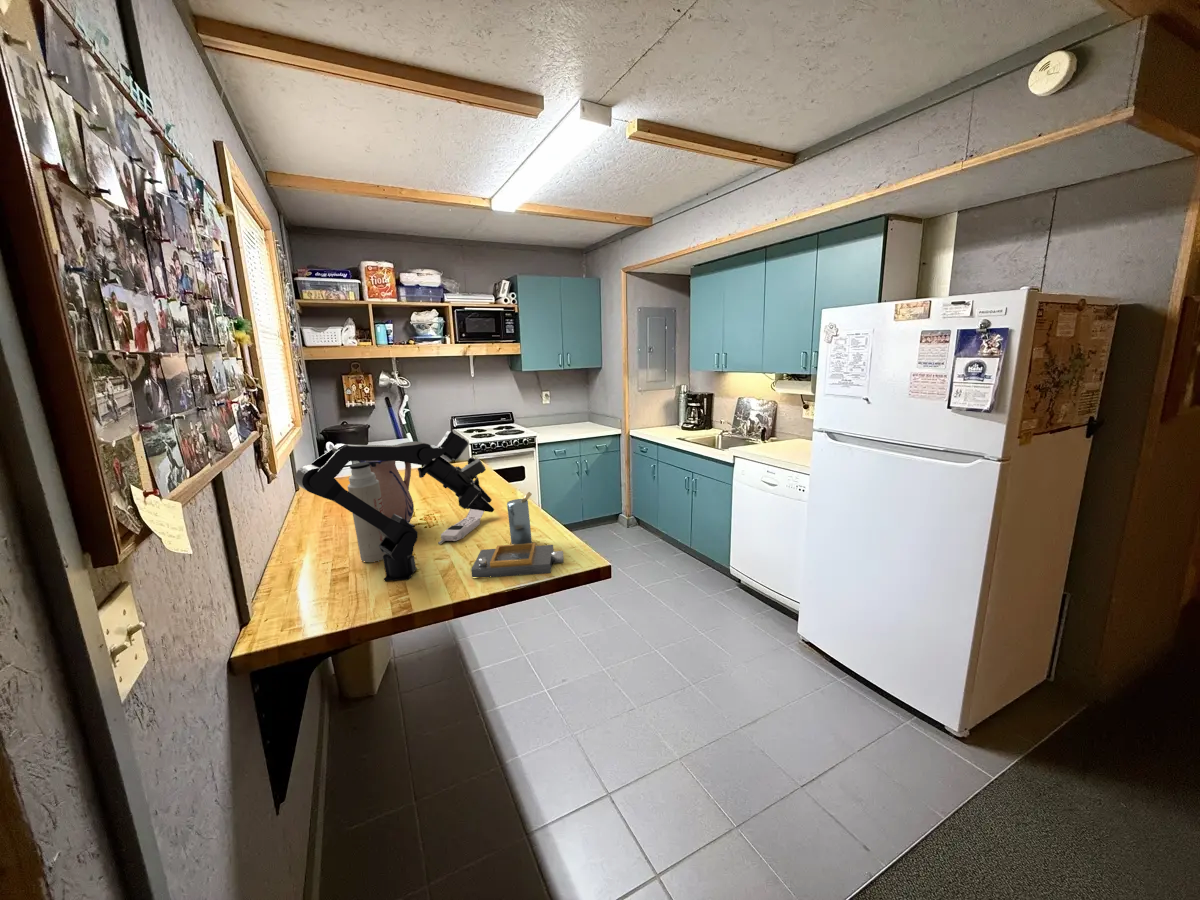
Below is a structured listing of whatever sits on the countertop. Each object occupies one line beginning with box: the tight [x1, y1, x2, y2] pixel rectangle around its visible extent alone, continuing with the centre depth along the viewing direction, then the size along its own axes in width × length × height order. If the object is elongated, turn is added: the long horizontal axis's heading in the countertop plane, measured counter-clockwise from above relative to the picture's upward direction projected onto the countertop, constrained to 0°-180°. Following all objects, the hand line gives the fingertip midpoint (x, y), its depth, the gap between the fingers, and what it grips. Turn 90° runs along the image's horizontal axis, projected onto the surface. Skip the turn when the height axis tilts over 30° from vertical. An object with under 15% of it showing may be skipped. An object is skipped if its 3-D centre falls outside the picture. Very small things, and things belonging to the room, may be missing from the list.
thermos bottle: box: [347, 462, 385, 563], centre depth 134 cm, size 8×8×28 cm
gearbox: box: [470, 542, 565, 578], centre depth 126 cm, size 23×12×4 cm, turn 92°
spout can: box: [506, 491, 533, 545], centre depth 139 cm, size 7×6×16 cm
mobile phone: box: [438, 509, 485, 545], centre depth 154 cm, size 6×6×25 cm
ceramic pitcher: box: [358, 461, 415, 524], centre depth 156 cm, size 18×21×25 cm
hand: (492, 505), depth 135 cm, fingers open, 9 cm apart
